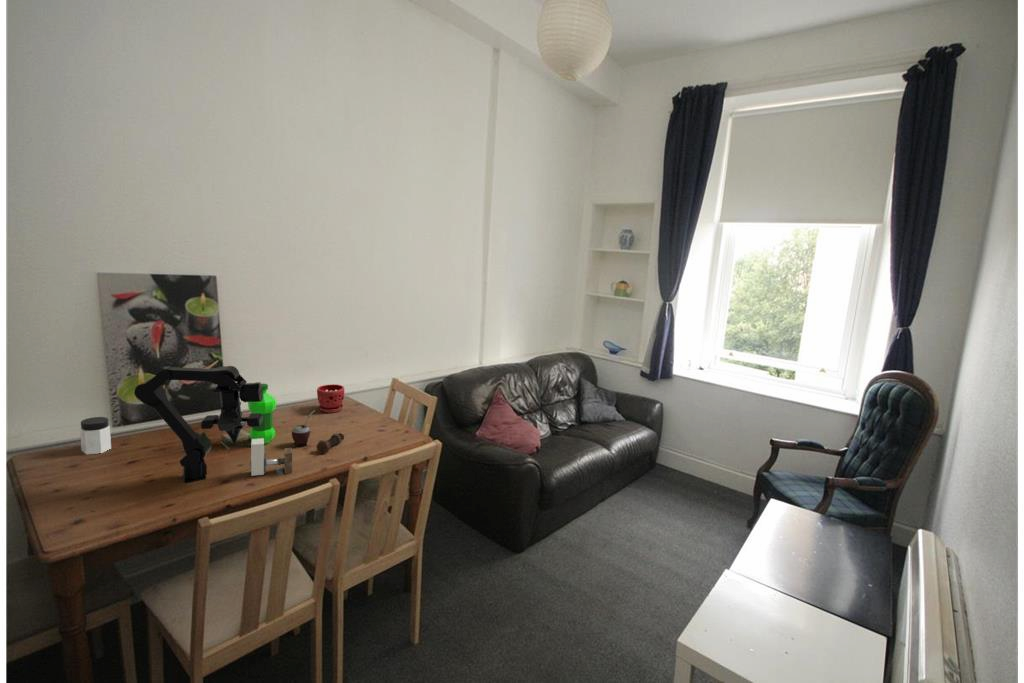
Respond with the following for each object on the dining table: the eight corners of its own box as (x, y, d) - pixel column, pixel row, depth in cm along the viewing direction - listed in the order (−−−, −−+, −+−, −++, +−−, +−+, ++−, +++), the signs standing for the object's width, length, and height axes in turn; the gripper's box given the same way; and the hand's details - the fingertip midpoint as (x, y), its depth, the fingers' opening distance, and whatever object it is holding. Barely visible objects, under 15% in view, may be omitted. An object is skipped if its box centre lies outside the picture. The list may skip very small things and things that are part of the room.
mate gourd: (288, 446, 214) (288, 412, 211) (300, 439, 221) (301, 406, 219) (302, 449, 212) (303, 415, 209) (315, 443, 219) (315, 409, 217)
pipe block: (276, 474, 189) (276, 454, 187) (276, 468, 193) (276, 449, 192) (292, 473, 191) (292, 453, 190) (291, 467, 196) (291, 447, 194)
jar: (78, 455, 190) (76, 425, 188) (84, 447, 197) (82, 417, 195) (108, 453, 194) (106, 423, 192) (113, 445, 201) (112, 416, 199)
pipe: (250, 469, 186) (250, 462, 185) (250, 465, 188) (250, 459, 188) (286, 465, 191) (286, 459, 190) (285, 462, 193) (285, 456, 193)
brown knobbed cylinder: (342, 444, 225) (323, 456, 210) (333, 437, 225) (314, 449, 211) (349, 434, 224) (330, 446, 209) (340, 427, 224) (320, 438, 209)
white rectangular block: (251, 475, 185) (251, 444, 183) (252, 469, 190) (251, 439, 188) (265, 474, 187) (265, 443, 185) (265, 468, 192) (265, 438, 189)
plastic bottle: (244, 445, 210) (243, 387, 206) (256, 436, 221) (255, 380, 216) (269, 447, 211) (268, 389, 206) (279, 438, 221) (279, 382, 216)
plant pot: (338, 404, 270) (338, 382, 268) (348, 411, 260) (348, 389, 258) (312, 407, 262) (313, 385, 259) (322, 415, 252) (322, 392, 250)
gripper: (192, 412, 170) (198, 455, 174) (253, 410, 173) (257, 451, 178) (204, 400, 180) (209, 440, 184) (261, 398, 184) (265, 437, 188)
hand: (235, 442), depth 183 cm, fingers closed
